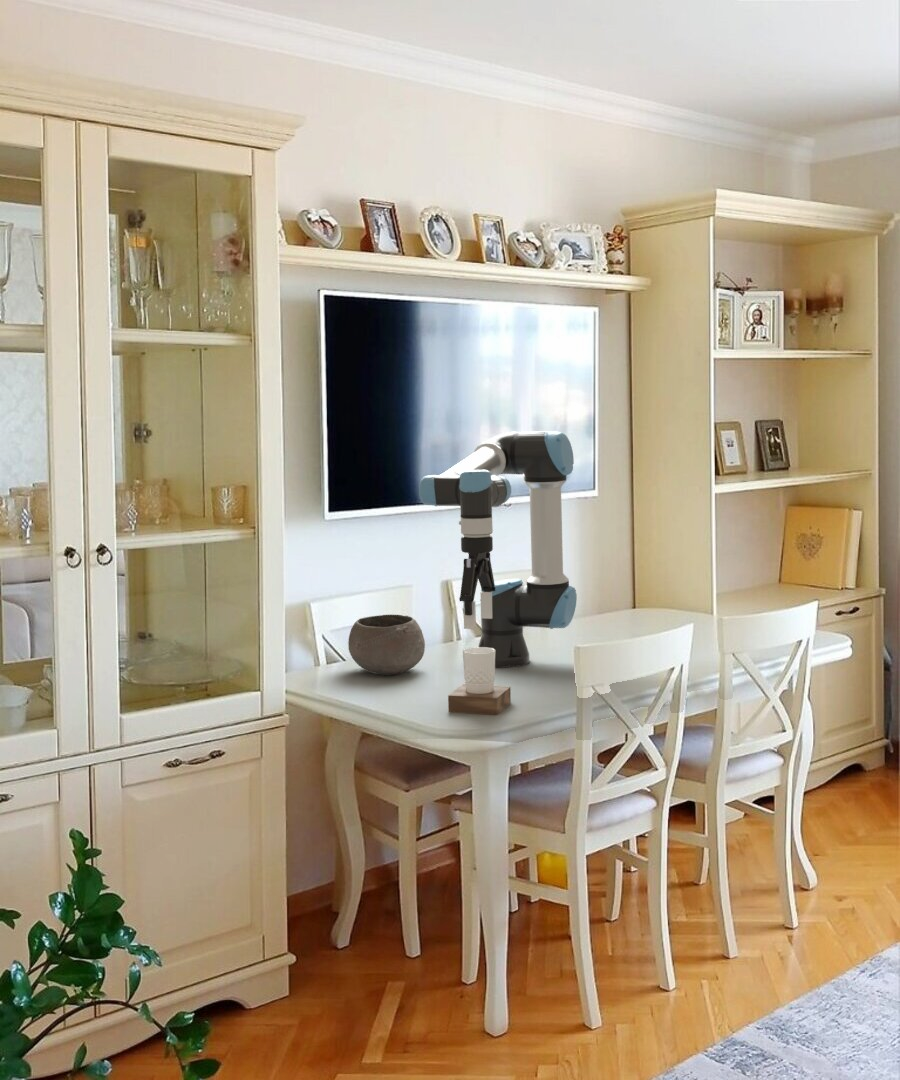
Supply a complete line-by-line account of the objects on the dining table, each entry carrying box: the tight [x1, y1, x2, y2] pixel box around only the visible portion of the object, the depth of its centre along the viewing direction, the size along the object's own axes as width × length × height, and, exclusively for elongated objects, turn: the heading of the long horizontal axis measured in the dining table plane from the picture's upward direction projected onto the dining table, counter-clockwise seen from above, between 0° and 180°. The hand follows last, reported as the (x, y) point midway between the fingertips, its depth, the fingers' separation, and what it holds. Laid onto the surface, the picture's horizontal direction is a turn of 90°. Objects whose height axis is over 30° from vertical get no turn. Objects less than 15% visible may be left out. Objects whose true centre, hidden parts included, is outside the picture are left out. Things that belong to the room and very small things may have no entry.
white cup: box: [462, 646, 496, 694], centre depth 301 cm, size 8×8×10 cm
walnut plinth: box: [447, 683, 512, 716], centre depth 302 cm, size 12×12×4 cm
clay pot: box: [347, 614, 426, 676], centre depth 342 cm, size 21×21×15 cm
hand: (478, 623), depth 300 cm, fingers open, 13 cm apart
